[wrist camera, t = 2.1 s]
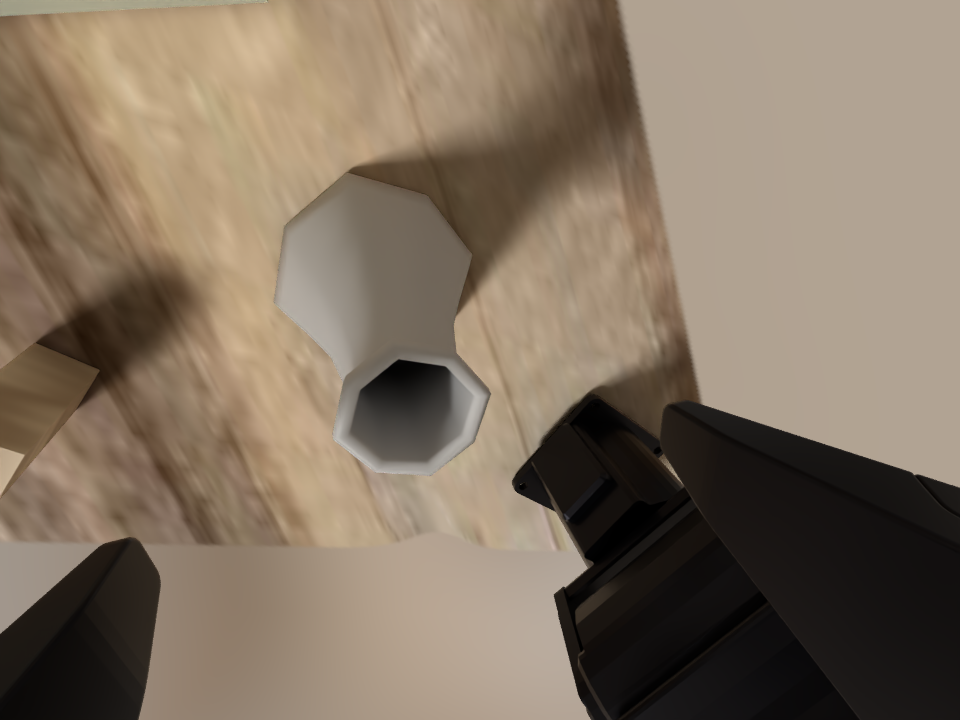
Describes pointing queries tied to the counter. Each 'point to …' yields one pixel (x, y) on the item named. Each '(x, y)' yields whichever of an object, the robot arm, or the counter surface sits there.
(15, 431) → the door frame
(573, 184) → the counter surface
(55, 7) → the door
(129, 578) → the robot arm
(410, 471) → the flask
